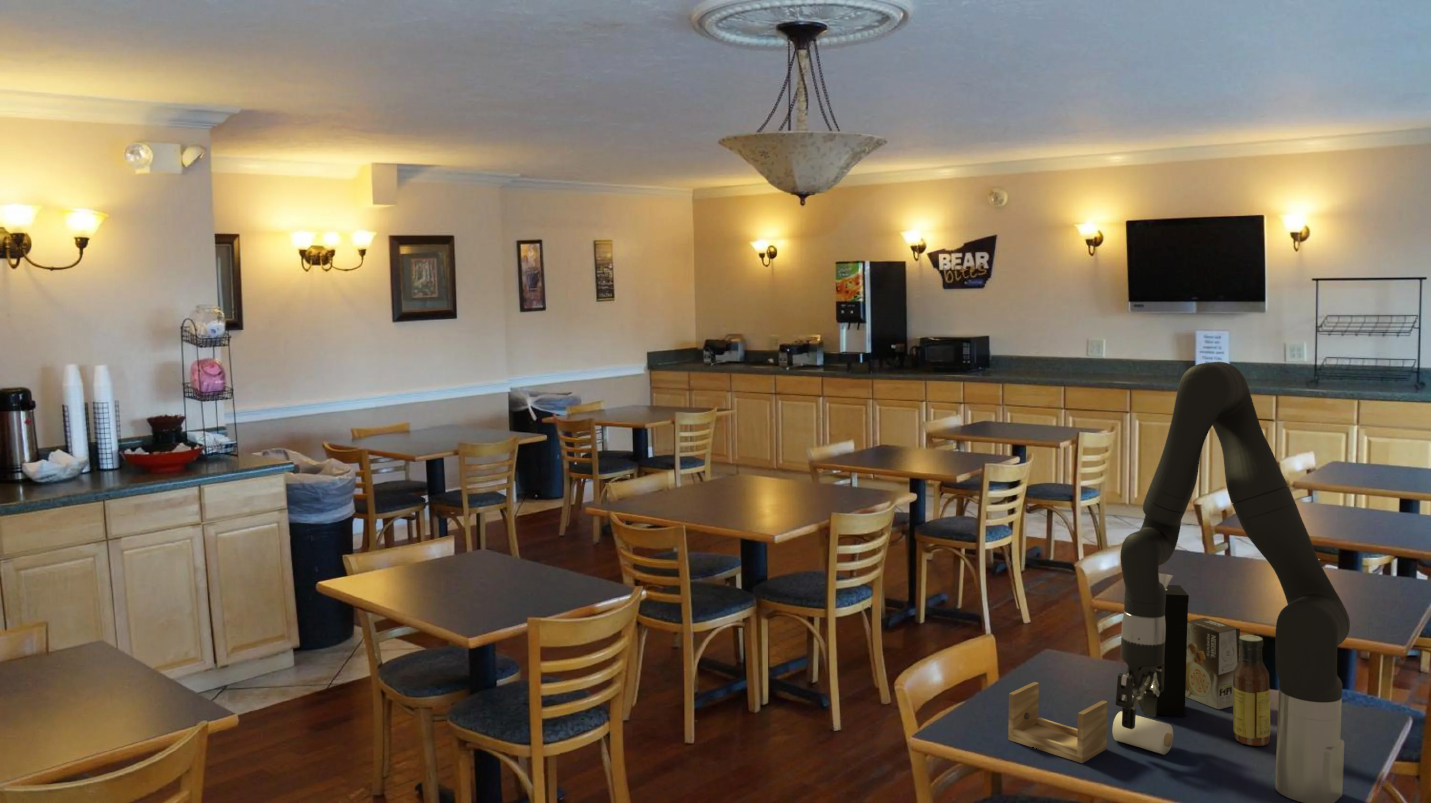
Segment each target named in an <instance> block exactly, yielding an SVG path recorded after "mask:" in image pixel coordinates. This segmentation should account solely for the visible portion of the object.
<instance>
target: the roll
mask: <svg viewBox="0 0 1431 803" xmlns="http://www.w3.org/2000/svg"><path fill="white" fill-rule="evenodd" d="M1112 736H1113V739H1114V740H1115V741H1117V742H1120V743H1122V744H1123V743H1124V744H1127V745H1131V746H1133V747H1137V748H1140V749H1144V750H1147V751H1150V752H1154V753H1157V754H1160V755H1163V756H1164V755H1166V754H1168V753H1169V752H1170V750H1171V748H1172V744H1173V741H1174V740H1173V739H1174V728H1173V727H1172V725H1171V724H1169V723H1166V722H1163V721H1158V720H1155V719H1151V718H1147V717H1143V716H1140V715H1137V714H1136V718H1135V728H1133V729H1128V728H1125V727H1123V726H1122V710H1121V711H1118V713H1117V714H1116V715H1115V717H1114V719H1113V722H1112Z"/></svg>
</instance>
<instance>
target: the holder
mask: <svg viewBox="0 0 1431 803" xmlns="http://www.w3.org/2000/svg"><path fill="white" fill-rule="evenodd" d="M1039 686H1040V684H1039V682H1037V681H1033V682H1030V683H1028V684H1026V685H1025V686H1022V687H1020V688H1018V689H1016V690H1013V691H1012V692H1009V693H1008V738H1007V740H1008V741H1011V742H1014V743H1018V744H1021V745H1024V746H1027V747H1030V748H1032V747H1034V748H1033V749H1036V748H1037V749H1036V750H1039V751H1043V752H1045V753H1048V754H1051V755H1055V756H1058V757H1061V758H1064V759H1067V760H1070V761H1074V762H1077V763H1080V764H1084V763H1086V762H1088V761H1089V760H1090V759H1092V758H1094V757H1096V756H1097V755H1098V754H1101V753H1102V752H1104V751H1106V750H1107V742H1108V741H1107V738H1108V703H1109V702H1108V701H1106V700H1101V701H1100V700H1099V701H1098V702H1097V703H1094V704H1093V705H1090V706H1089V707H1087V708H1085V709H1083V710H1080V711H1079V712H1078V713H1077V728H1076V727H1073V726H1069V725H1065V724H1063V723H1059V722H1055V721H1052V720H1049V719H1046V718H1043V717H1039V705H1040V704H1039V698H1040V697H1039V695H1040V691H1039V690H1040V687H1039Z"/></svg>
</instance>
